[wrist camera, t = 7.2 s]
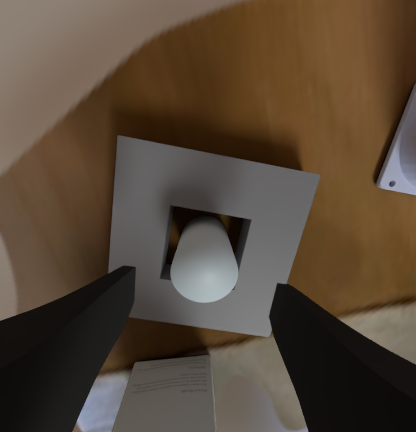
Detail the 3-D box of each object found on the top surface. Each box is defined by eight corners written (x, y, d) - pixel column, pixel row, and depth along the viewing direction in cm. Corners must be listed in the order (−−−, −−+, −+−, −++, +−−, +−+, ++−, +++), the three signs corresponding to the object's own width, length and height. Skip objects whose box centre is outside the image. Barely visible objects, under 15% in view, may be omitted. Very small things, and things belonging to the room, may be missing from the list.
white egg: (230, 218, 17) (243, 246, 11) (223, 260, 18) (232, 306, 12) (184, 212, 17) (173, 237, 11) (179, 255, 18) (167, 298, 12)
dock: (303, 173, 16) (320, 174, 14) (261, 315, 20) (269, 337, 17) (131, 139, 15) (117, 134, 13) (118, 294, 19) (105, 313, 16)
